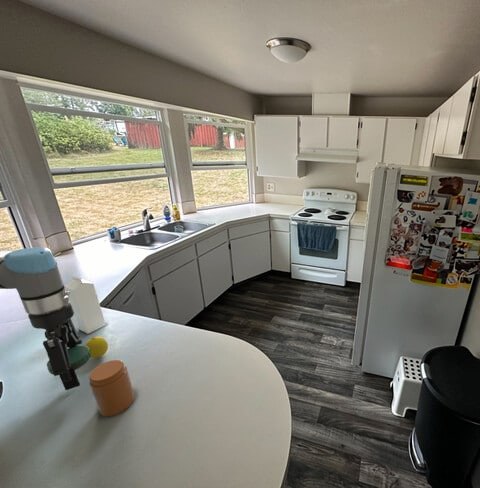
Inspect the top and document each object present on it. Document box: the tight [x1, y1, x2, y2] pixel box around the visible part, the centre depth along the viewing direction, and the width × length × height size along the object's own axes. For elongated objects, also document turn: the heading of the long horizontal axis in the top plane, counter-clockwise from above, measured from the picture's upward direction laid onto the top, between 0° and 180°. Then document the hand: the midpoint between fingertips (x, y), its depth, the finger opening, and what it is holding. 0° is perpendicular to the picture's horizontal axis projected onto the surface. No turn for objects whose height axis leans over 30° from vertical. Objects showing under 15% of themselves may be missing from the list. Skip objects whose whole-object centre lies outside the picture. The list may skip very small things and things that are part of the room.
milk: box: [64, 275, 107, 335], centre depth 95 cm, size 6×6×22 cm
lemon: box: [84, 336, 109, 359], centre depth 83 cm, size 6×6×8 cm
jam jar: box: [88, 359, 136, 417], centre depth 67 cm, size 8×8×12 cm
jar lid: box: [46, 345, 91, 375], centre depth 69 cm, size 8×8×2 cm
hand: (76, 375), depth 71 cm, fingers closed on jar lid, 8 cm apart
